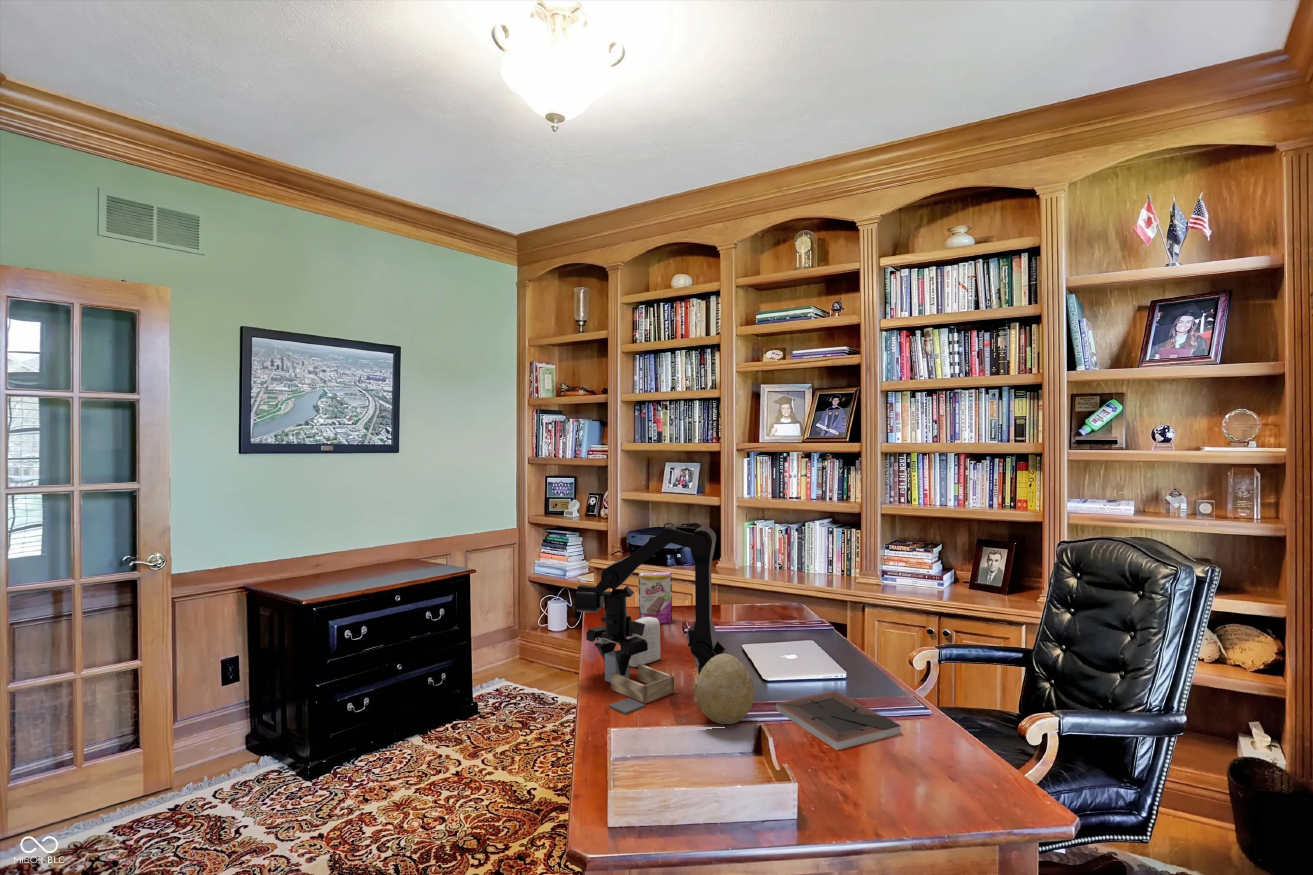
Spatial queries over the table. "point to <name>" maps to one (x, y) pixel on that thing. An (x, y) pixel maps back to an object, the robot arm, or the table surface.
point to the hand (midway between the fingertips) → (617, 672)
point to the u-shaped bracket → (655, 687)
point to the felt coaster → (627, 706)
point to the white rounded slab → (652, 638)
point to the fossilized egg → (725, 689)
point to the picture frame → (838, 719)
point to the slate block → (612, 666)
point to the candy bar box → (656, 596)
